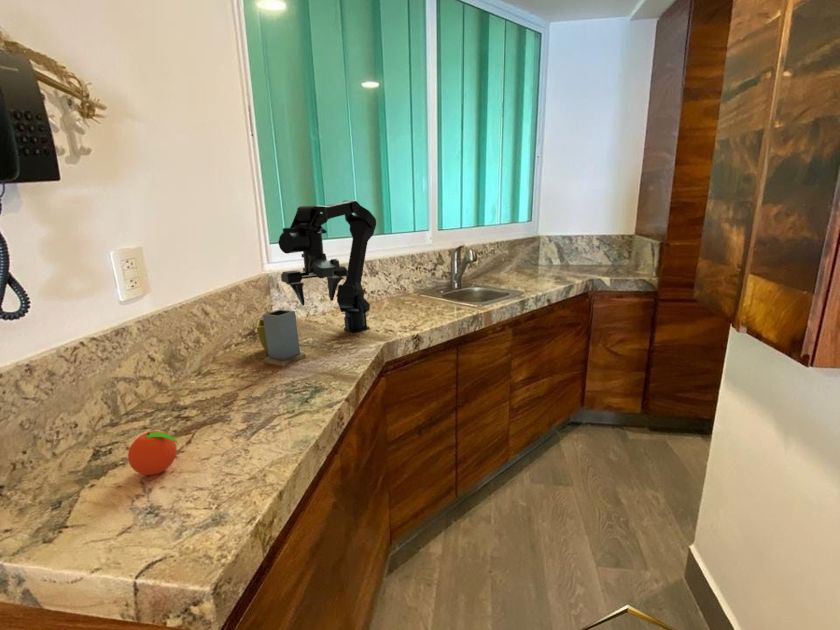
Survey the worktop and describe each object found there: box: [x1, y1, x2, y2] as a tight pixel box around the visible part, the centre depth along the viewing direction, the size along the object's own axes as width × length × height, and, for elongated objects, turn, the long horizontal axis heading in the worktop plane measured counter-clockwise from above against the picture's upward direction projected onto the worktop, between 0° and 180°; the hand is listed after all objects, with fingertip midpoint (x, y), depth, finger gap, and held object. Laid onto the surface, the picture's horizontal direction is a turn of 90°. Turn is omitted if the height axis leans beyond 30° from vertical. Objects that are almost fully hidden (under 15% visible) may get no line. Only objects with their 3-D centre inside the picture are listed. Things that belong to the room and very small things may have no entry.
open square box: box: [262, 309, 301, 361], centre depth 123 cm, size 6×6×12 cm
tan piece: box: [263, 352, 307, 368], centre depth 124 cm, size 8×8×5 cm
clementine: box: [127, 430, 180, 476], centre depth 74 cm, size 8×7×7 cm
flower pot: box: [255, 318, 268, 354], centre depth 132 cm, size 9×9×9 cm
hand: (317, 302), depth 133 cm, fingers open, 9 cm apart
